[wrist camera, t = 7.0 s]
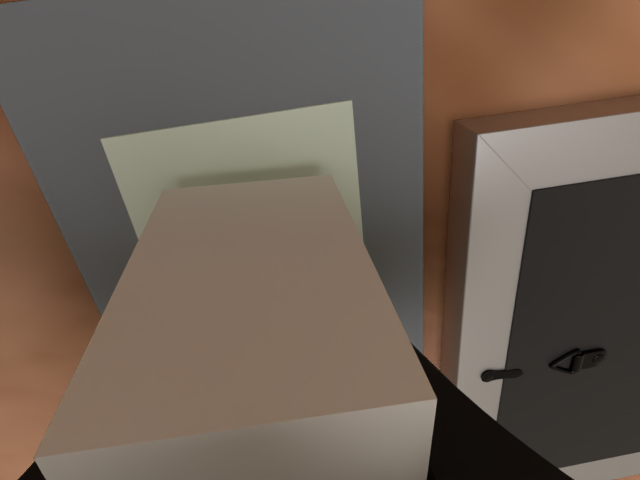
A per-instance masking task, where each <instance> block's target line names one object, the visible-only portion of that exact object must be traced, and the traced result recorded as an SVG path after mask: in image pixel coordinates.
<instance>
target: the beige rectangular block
mask: <svg viewBox="0 0 640 480" xmlns="http://www.w3.org/2000/svg"><path fill="white" fill-rule="evenodd" d="M436 405H437V397H436V395H435V393H434V391H433V389H432V387H431V385H430V382H429V380H428V378H427V376H426V374H425V372H424V370H423V368H422V366H421V363H420V361H419V359H418V357H417V355H416V353H415V351H414V349H413V346H412V344H411V342H410V340H409V338H408V336H407V334H406V332H405V330H404V327H403V325H402V323H401V321H400V319H399V317H398V315H397V313H396V311H395V308H394V306H393V304H392V302H391V300H390V298H389V296H388V294H387V291H386V289H385V287H384V285H383V283H382V281H381V279H380V277H379V275H378V272H377V270H376V268H375V266H374V264H373V262H372V260H371V258H370V256H369V253H368V251H367V249H366V247H365V245H364V243H363V241H362V239H361V236H360V234H359V232H358V230H357V228H356V226H355V224H354V222H353V220H352V217H351V215H350V213H349V211H348V209H347V207H346V205H345V203H344V200H343V198H342V196H341V194H340V192H339V190H338V188H337V186H336V184H335V181H334V179H333V177H332V175H321V176H310V177H299V178H287V179H276V180H265V181H254V182H242V183H231V184H220V185H209V186H197V187H186V188H175V189H163V191H162V193H161V195H160V197H159V199H158V201H157V203H156V205H155V207H154V209H153V211H152V213H151V215H150V217H149V220H148V222H147V224H146V226H145V228H144V230H143V232H142V234H141V236H140V238H139V240H138V242H137V244H136V247H135V249H134V251H133V253H132V255H131V257H130V259H129V261H128V263H127V265H126V267H125V269H124V271H123V273H122V276H121V278H120V280H119V282H118V284H117V286H116V288H115V290H114V292H113V294H112V296H111V298H110V300H109V302H108V305H107V307H106V309H105V311H104V313H103V315H102V317H101V319H100V321H99V323H98V325H97V327H96V329H95V331H94V334H93V336H92V338H91V340H90V342H89V344H88V346H87V348H86V350H85V352H84V354H83V356H82V358H81V361H80V363H79V365H78V367H77V369H76V371H75V373H74V375H73V377H72V379H71V381H70V383H69V385H68V387H67V390H66V392H65V394H64V396H63V398H62V400H61V402H60V404H59V406H58V408H57V410H56V412H55V414H54V416H53V419H52V421H51V423H50V425H49V427H48V429H47V431H46V433H45V435H44V437H43V439H42V441H41V443H40V445H39V448H38V450H37V452H36V454H35V456H34V460H35V462H36V463H37V465H38V467H39V469H40V470H41V472H42V474H43V475H44V477H45V479H46V480H427V473H428V465H429V458H430V450H431V443H432V435H433V427H434V420H435V412H436Z"/></svg>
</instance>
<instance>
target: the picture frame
mask: <svg viewBox="0 0 640 480" xmlns="http://www.w3.org/2000/svg"><path fill="white" fill-rule="evenodd" d="M440 372H441V373H442V374H443V375H445V376H446V377H447V378H448V379H449V380H450V381H451V382H452V383H453V384H454V385H455V386H456V387H457V388H458V389H460V390H461V391H462V392H463V393H464V394H465V395H466V396H467V397H469V398H470V399H471V400H472V401H473V402H474V403H475V404H477V405H478V406H479V407H480V408H481V409H482V410H484V411H485V412H486V413H487V414H488V415H489V416H491V417H492V418H493V419H494V420H495V421H497V422H498V423H499V424H500V425H502V426H503V427H504V428H505V429H507V430H508V431H509V432H510V433H512V434H513V435H514V436H516V437H517V438H518V439H519V440H521V441H522V442H523V443H525V444H526V445H527V446H529V447H530V448H531V449H532V450H534V451H535V452H536V453H538V454H539V455H541V456H542V457H543V458H545V459H546V460H547V461H549V462H550V463H552V464H553V465H554V466H556V467H557V468H558V469H560V470H561V471H563V472H564V473H565V474H567V475H568V476H570V477H571V478H573V479H574V480H613V479H617V478H622V477H627V476H632V475H637V474H640V95H633V96H626V97H619V98H612V99H605V100H597V101H590V102H583V103H576V104H569V105H562V106H554V107H547V108H540V109H533V110H526V111H518V112H511V113H504V114H497V115H490V116H482V117H475V118H468V119H461V120H454V121H453V139H452V158H451V177H450V195H449V214H448V233H447V252H446V270H445V289H444V308H443V326H442V345H441V364H440Z"/></svg>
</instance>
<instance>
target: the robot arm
mask: <svg viewBox="0 0 640 480" xmlns="http://www.w3.org/2000/svg"><path fill="white" fill-rule="evenodd" d="M411 344H412V343H411ZM412 346H413V349H414V351H415V353H416V355H417V357H418V359H419V361H420V363H421V366H422V368H423V370H424V372H425V374H426V376H427V378H428V380H429V382H430V385H431V387H432V389H433V391H434V393H435V395H436V397H437V405H436V412H435V420H434V427H433V435H432V443H431V450H430V458H429V465H428V473H427V480H574V479H573V478H571V477H570V476H568V475H567V474H565V473H564V472H563V471H561V470H560V469H558V468H557V467H556V466H554V465H553V464H552V463H550V462H549V461H547V460H546V459H545V458H543V457H542V456H541V455H539V454H538V453H536V452H535V451H534V450H532V449H531V448H530V447H529V446H527V445H526V444H525V443H523V442H522V441H521V440H519V439H518V438H517V437H516V436H514V435H513V434H512V433H510V432H509V431H508V430H507V429H505V428H504V427H503V426H502V425H500V424H499V423H498V422H497V421H495V420H494V419H493V418H492V417H491V416H489V415H488V414H487V413H486V412H485V411H484V410H482V409H481V408H480V407H479V406H478V405H477V404H475V403H474V402H473V401H472V400H471V399H470V398H469V397H467V396H466V395H465V394H464V393H463V392H462V391H461V390H460V389H458V388H457V387H456V386H455V385H454V384H453V383H452V382H451V381H450V380H449V379H448V378H447V377H446V376H445V375H443V374H442V373H441V372H440V371H439V370H438V369H437V368H436V367H435V366H434V365H433V364H432V363H431V362H430V361H429V360H428V359H427V358H426V357H425V356H424V355H423V354H422V353H421V352H420V351H419V350H418V349H417V348H416V347H415V346H414V345H413V344H412ZM18 480H46V479H45V477H44V475H43V474H42V472H41V470H40V469H39V467H38V465H37V463H36V462H35V461H34V463H33V464H32V465H31V466H30V467H29V468H28V469H27V470H26V471H25V473H24V474H23V475H22V476H21V477H20V478H19V479H18Z"/></svg>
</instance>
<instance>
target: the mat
mask: <svg viewBox="0 0 640 480" xmlns="http://www.w3.org/2000/svg"><path fill="white" fill-rule="evenodd" d="M0 105H1V107H2V109H3V111H4V114H5V116H6V118H7V120H8V122H9V124H10V126H11V128H12V130H13V132H14V134H15V137H16V139H17V141H18V143H19V145H20V147H21V149H22V151H23V153H24V155H25V157H26V160H27V162H28V164H29V166H30V168H31V170H32V172H33V174H34V176H35V178H36V180H37V183H38V185H39V187H40V189H41V191H42V193H43V195H44V197H45V199H46V201H47V204H48V206H49V208H50V210H51V212H52V214H53V216H54V218H55V220H56V222H57V224H58V227H59V229H60V231H61V233H62V235H63V237H64V239H65V241H66V243H67V245H68V247H69V250H70V252H71V254H72V256H73V258H74V260H75V262H76V264H77V266H78V268H79V271H80V273H81V275H82V277H83V279H84V281H85V283H86V285H87V287H88V289H89V291H90V294H91V296H92V298H93V300H94V302H95V304H96V306H97V308H98V310H99V312H100V314H101V317H102V315H103V313H104V311H105V309H106V307H107V305H108V302H109V300H110V298H111V296H112V294H113V292H114V290H115V288H116V286H117V284H118V282H119V280H120V278H121V276H122V273H123V271H124V269H125V267H126V265H127V263H128V261H129V259H130V257H131V255H132V253H133V251H134V249H135V247H136V244H137V242H138V240H139V238H140V236H141V234H142V232H143V230H144V228H145V226H146V224H147V222H148V220H149V217H150V215H151V213H152V211H153V209H154V207H155V205H156V203H157V201H158V199H159V197H160V195H161V193H162V191H163V189H175V188H186V187H197V186H209V185H220V184H231V183H242V182H254V181H265V180H276V179H287V178H299V177H310V176H321V175H332V177H333V179H334V181H335V184H336V186H337V188H338V190H339V192H340V194H341V196H342V198H343V200H344V203H345V205H346V207H347V209H348V211H349V213H350V215H351V217H352V220H353V222H354V224H355V226H356V228H357V230H358V232H359V234H360V236H361V239H362V241H363V243H364V245H365V247H366V249H367V251H368V253H369V256H370V258H371V260H372V262H373V264H374V266H375V268H376V270H377V272H378V275H379V277H380V279H381V281H382V283H383V285H384V287H385V289H386V291H387V294H388V296H389V298H390V300H391V302H392V304H393V306H394V308H395V311H396V313H397V315H398V317H399V319H400V321H401V323H402V325H403V327H404V330H405V332H406V334H407V336H408V338H409V340H410V342H411V343H412V344H413V345H414V346H415V347H416V348H417V349H418V350H419V351H420V352H421V353H422V354H423V0H27V1H19V2H12V3H4V4H0Z"/></svg>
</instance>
